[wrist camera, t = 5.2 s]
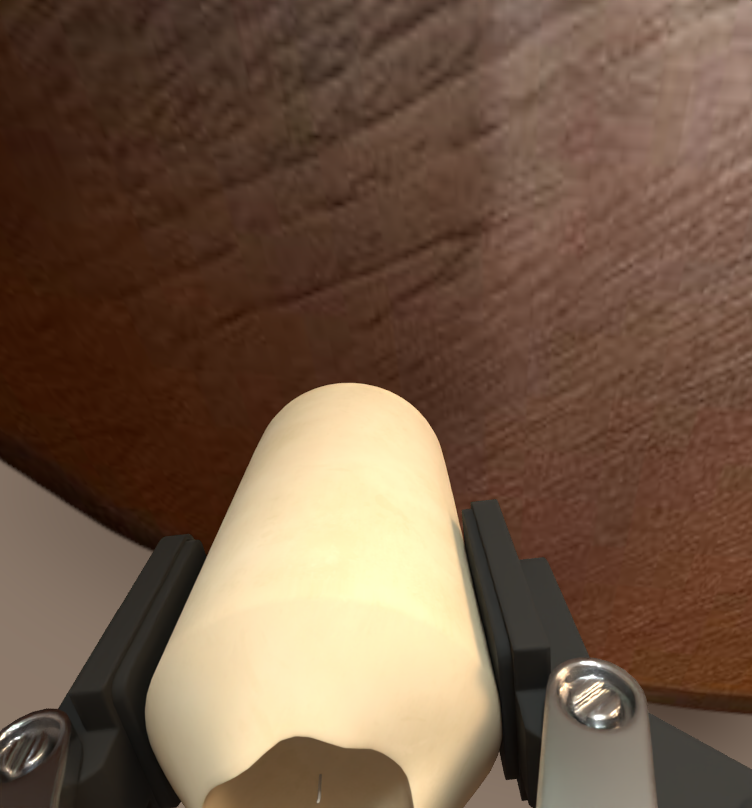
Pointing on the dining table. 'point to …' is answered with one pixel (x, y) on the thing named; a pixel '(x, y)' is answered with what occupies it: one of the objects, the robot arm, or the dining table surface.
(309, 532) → the candle
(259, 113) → the dining table surface
